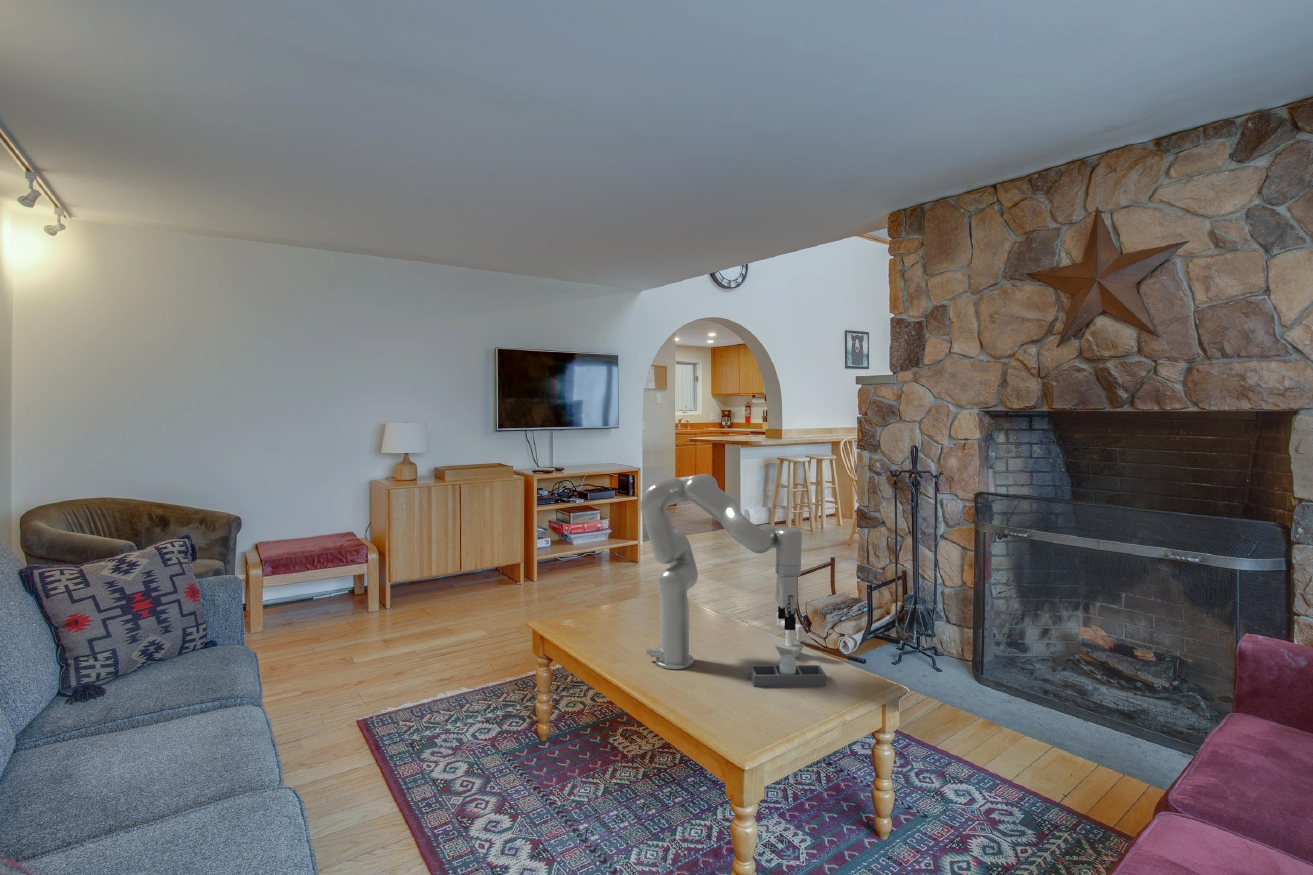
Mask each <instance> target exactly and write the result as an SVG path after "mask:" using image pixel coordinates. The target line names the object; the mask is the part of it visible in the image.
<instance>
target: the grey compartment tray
mask: <svg viewBox="0 0 1313 875" xmlns="http://www.w3.org/2000/svg"><path fill="white" fill-rule="evenodd" d="M749 677H750V679H751V682H752V685H753V687H754V688H755V687H759V688H760V687H766V688H767V687H773V688H774V687H827V681H828V680H827V674H826V673H825V671H824V669H823V668H822V666H821V665H820V664H808V665H807V664H800V665H799V664H796V675H779V664H778V665H777V664H776V665H775V664H773V665H771V664H769V665H765V664H764V665H763V664H762V665H761V664H758V665H757V664H756V665H755V664H754V665H749Z"/></svg>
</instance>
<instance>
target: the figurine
mask: <svg viewBox="0 0 1313 875" xmlns="http://www.w3.org/2000/svg"><path fill="white" fill-rule="evenodd" d="M776 625H777V627H778V628H780V629H784V625H785V619H779V618H778V611H777V612H776ZM784 630H785V629H784ZM795 633H796V640H797V641H798V642H796V641H795ZM803 639H804V626H803V625H802V624H800V623H797V622H796V629H795V630H785V639H784V640H783V641H781V642H779V643H776V644H775V645H774V647H775V649H776V650H777V652H778V653H779V655H780V657H781V656H783V655H785V654H790V655H792V656H793V657H794V658H795V659H796V658H797V657H798V656H800V654H801V652H802V650H803V649H804V648H805V644H803V643H799V642H802V641H803Z"/></svg>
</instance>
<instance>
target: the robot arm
mask: <svg viewBox="0 0 1313 875" xmlns="http://www.w3.org/2000/svg"><path fill="white" fill-rule="evenodd" d="M685 502H692V503H694V504H695V505H696V506H698V507H699V508H701V509H702V510H704V511H705V512H706V513H707V514H709V515H710V516H711V517H712V518H714V519H716V520H717V522H719V523H720V524H721V526H722V527H723V528H724V530H725V531H726V532H727V533H728V534H729V535H730V536H731V537H732V538H733V539H734V540H735V541H737V542H738V543H739V544H740V545H742V546H743V547H744V548H745V549H747V550H748V551H750V552H752V553H755V554H757V555H758V554H761V555H762V554H766V553H767V552H769V550H771V549H774V548H775V549H776V550H775V574H776V583H775V601H776V603H777V605H778V606H777V607H778V608H777V612H778V618H779V619H783V620H785V625H784V630H785V631H786V630H795V629H796V623H797V622H796V621H797V614H796V612H797V611H796V609H797V608H798V600H799V599H798V594H799V592H798V591H799V590H798V588H799V587H798V584H799V582H798V577H800V576H801V574H802V570H801V569H802V544H803V543H802V540H803V538H802V536H803V535H802V531H801V530H800V529H799V528H796V527H781V526H777V525H773V524H769V523H764V524H760V525H759V526H758V525H756V524H754V523H753V522H752V521H750V520H749V519H748V518H747V517H746V516H744V514H743V513H742V512H741V510H740V507H739V505H738V502H737V501H736V499H735V498H734V497H732V496H731V495H729V494H728V493H727V492H725V491H724V490H722V489H721V488H720V487H719V485H718V482H717V480H716V478H715V477H714V476H712V475H711V474H708V473H700V474H695V475H687V476H679V477H674V478H673V477H672V478H668V479H664V480H663V479H662V480H660V481H657V482H655V483H653V484H652V485H650V486H649V487H648V488H646V490H645V491H644V493H643V495H642V498H641V501H640V510H641V514H642V517H643V520H644V521H643V522H644V524H645V528H646V531H647V532H646V533H647V535H648V539H649V544H650V546H651V550H652V553H653V554H652V555H653V557H654V558H655V560H656V561H657V562H658V563H659V564H661V565H668V568H666V569H665V570H664V571H662V573H661V574H660V575H659V577H658V581H657V590H658V596H659V616H660V623H659V629H660V630H659V635H660V636H659V637H660V640H659V645H658V648H657V647H656V648H655V649H652V648H649V649H646V656H649V658H655V663H656V665H657V666H658V667H661V668H663V669H668V670H683V669H687V668H689V667H691V666H693V665H694V663H695V658H694V656H692V655H691V654H690V604H689V598H688V591H689V590H690V589H692V588H693V587H694V586H695V585H696V583H697V581H698V578H699V573H698V568H697V565H696V560H695V557H694V554H693V550H692V549H693V548H692V547H691V543H690V541H689V538H688V537H687V536H686V534H684V533H683V532H681V531H679V530H676V529H674V527H673V522H672V519H671V517H670V516H669V514H668V511H667V508H668V507H670V506H673V505H676V504H679V503H685Z"/></svg>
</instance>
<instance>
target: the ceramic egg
mask: <svg viewBox="0 0 1313 875" xmlns="http://www.w3.org/2000/svg"><path fill="white" fill-rule="evenodd" d="M778 662H779V663H778V665H779V675H796V665H797V660H796V657H795V658H794V657H793V656H792V655H790V654H785V655H783V656H780V658H779V661H778Z"/></svg>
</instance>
